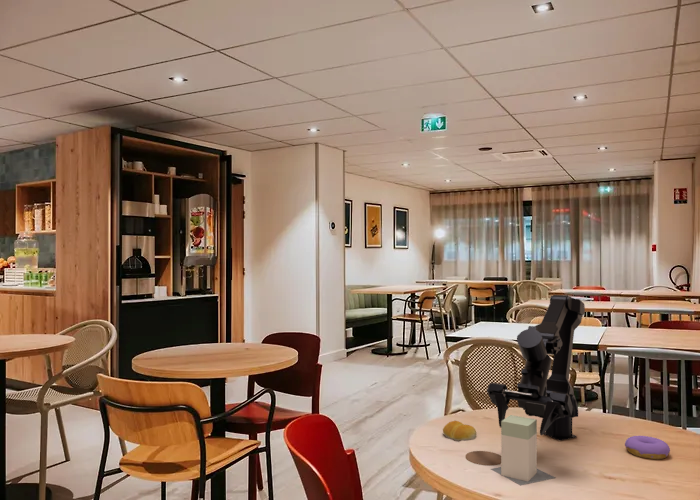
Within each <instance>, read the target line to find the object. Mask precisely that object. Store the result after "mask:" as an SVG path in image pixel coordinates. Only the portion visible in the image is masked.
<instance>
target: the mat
mask: <svg viewBox="0 0 700 500" xmlns="http://www.w3.org/2000/svg"><path fill="white" fill-rule="evenodd" d="M490 470H492V471H493V472H495V473H497V474H499V475H500V476H502V477H504V478H506V479H508V480H510V481H512V482H514V483H515V484H517V485H519V486H525V485H530V484H534V483H539V482H545V481H549V480H553V479H556V478H557V477H556V476H553V475H551V474H549V473H547V472H545V471H544V470H542V469H539V468H537V473H536V474H535V475H534V476H533V477H532V478H531V479H530V480H529V481H524V480H520V479H515V478H511V477H507V476H503V475H501V466H498V467H494V468H490Z"/></svg>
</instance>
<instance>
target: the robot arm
mask: <svg viewBox="0 0 700 500" xmlns="http://www.w3.org/2000/svg"><path fill="white" fill-rule="evenodd" d="M585 308H586V306H585V303H584V302H583V301H582V300H581V299H580V298H574V297H572V296H570V295H568V294H566V295H564V294H563V295H562V294H553V295H551V296H550V298H549V305H548V307H547V310H546V312H545V313H544V316H543V318H542V320H541V322H540V323H538V324H537V325H534V326H533V325H529V326H528V327H527V329H524V330H522V331H521V332H519V333H518V334H517V336H516V342H517V345H518V348H519V349H520V350H519V352H520V353H521V356H522V358H523V359H524V360H525V363H524V368H521V371H520V373H521V378H520V381H519V382H518V383H517V385H516V387H517V388H516V389H517V391H515V390H509V389H508V386H507V384H506V383H498V382H490V383H489V384H488V385H487V389H486V393H487V394H488V397H489V399H490V401H491V403H492V404H493V405H495V406H496V408H497V416H498V417H497V418H498V426H499V428H500V429H501V421H502V420H504V419H505V418H506V414H507V411H508V410H509V408H510V407H509V404H510V400H512V401H517V405H518V408H519V409H520V408H521V409H522V410H523V411H524V413H525V415H526V416H529V417H538V418H540V419H541V424H540V427H539V435H540V436H543V435H545V436H546V437H549V438H552V439H555V440H557V441H564V440H572V439H577V438H578V435H576V434H573V418H577V417H579V406H578V403H577V399H576V395H575V393H574V391H575V390H574V388H573V387H572V384H571V383H570V371H571V370H570V369H571V363H572V356H573V355H572V354H573V343H574V334H575V330H576V329H577V328H578V327H579V326H580V325H581V324H582V319H583V316H584V315H585V311H586V309H585ZM550 355H553V360H552V358H551V356H550ZM550 370H551V375H550V376H549V373H550Z"/></svg>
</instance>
